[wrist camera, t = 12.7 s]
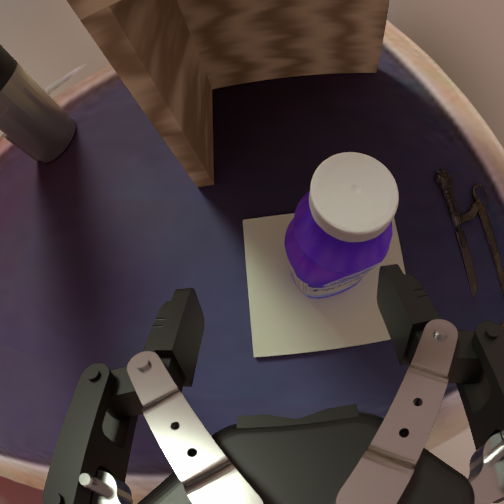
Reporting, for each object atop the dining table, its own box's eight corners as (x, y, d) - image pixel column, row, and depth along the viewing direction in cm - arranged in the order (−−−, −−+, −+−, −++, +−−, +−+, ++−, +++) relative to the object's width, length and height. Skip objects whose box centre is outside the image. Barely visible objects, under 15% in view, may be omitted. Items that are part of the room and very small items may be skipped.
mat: (254, 356, 28) (253, 357, 28) (243, 221, 32) (242, 219, 31) (411, 334, 26) (413, 334, 26) (389, 204, 30) (390, 202, 29)
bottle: (302, 309, 28) (307, 281, 12) (281, 255, 30) (258, 163, 13) (370, 281, 28) (452, 219, 11) (348, 229, 29) (393, 120, 13)
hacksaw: (429, 173, 30) (434, 167, 29) (486, 165, 29) (491, 160, 28) (479, 371, 24) (485, 373, 22) (533, 342, 23) (540, 341, 21)
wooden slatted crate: (197, 187, 34) (62, -7, 8) (199, 83, 39) (131, -67, 13) (415, 162, 31) (503, -30, 5) (372, 64, 35) (388, -90, 10)
